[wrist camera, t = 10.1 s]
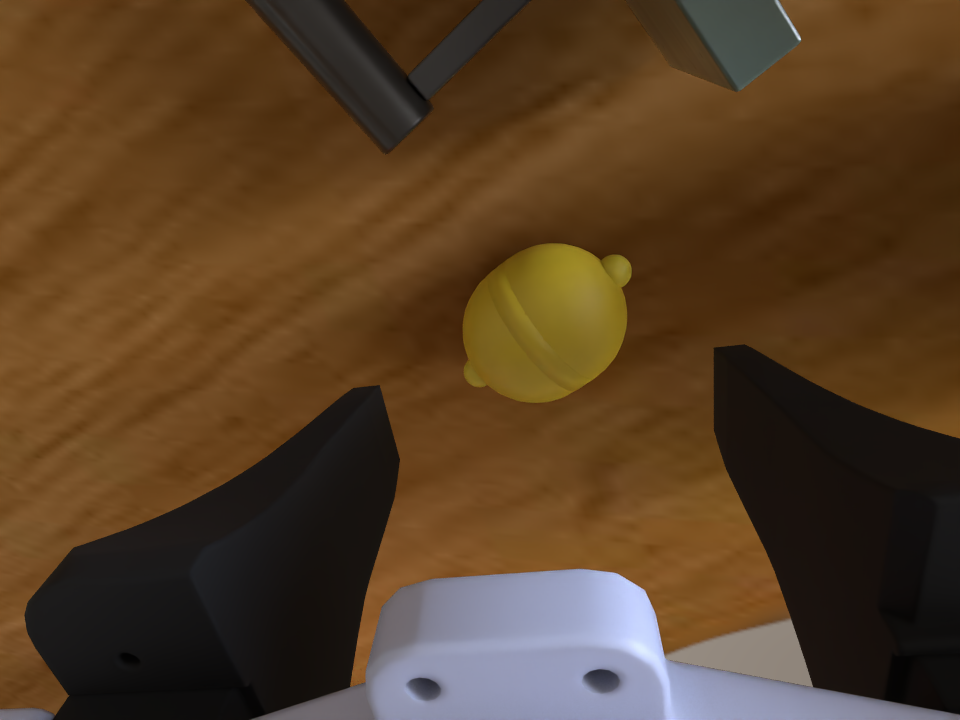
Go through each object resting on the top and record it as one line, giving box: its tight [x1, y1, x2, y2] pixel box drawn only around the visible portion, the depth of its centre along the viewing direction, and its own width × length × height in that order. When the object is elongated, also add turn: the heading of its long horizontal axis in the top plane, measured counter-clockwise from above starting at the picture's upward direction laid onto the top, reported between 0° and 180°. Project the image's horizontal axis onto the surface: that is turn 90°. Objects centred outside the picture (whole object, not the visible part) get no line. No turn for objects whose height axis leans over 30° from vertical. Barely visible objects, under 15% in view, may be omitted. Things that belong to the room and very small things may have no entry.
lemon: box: [463, 243, 632, 403], centre depth 18 cm, size 6×4×4 cm
